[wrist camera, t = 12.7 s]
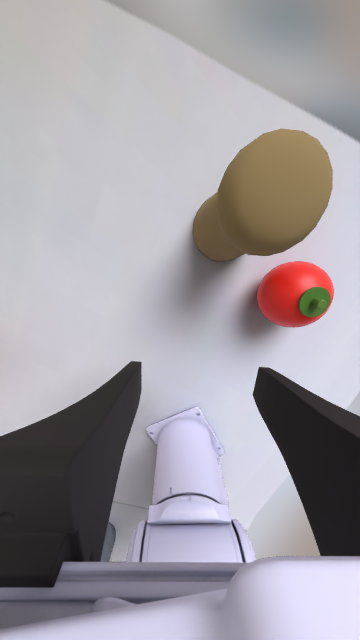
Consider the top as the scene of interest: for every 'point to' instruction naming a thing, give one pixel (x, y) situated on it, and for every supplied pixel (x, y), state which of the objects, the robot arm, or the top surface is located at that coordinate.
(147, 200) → the top surface
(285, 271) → the tomato
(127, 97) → the top surface
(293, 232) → the tan rounded tall piece
